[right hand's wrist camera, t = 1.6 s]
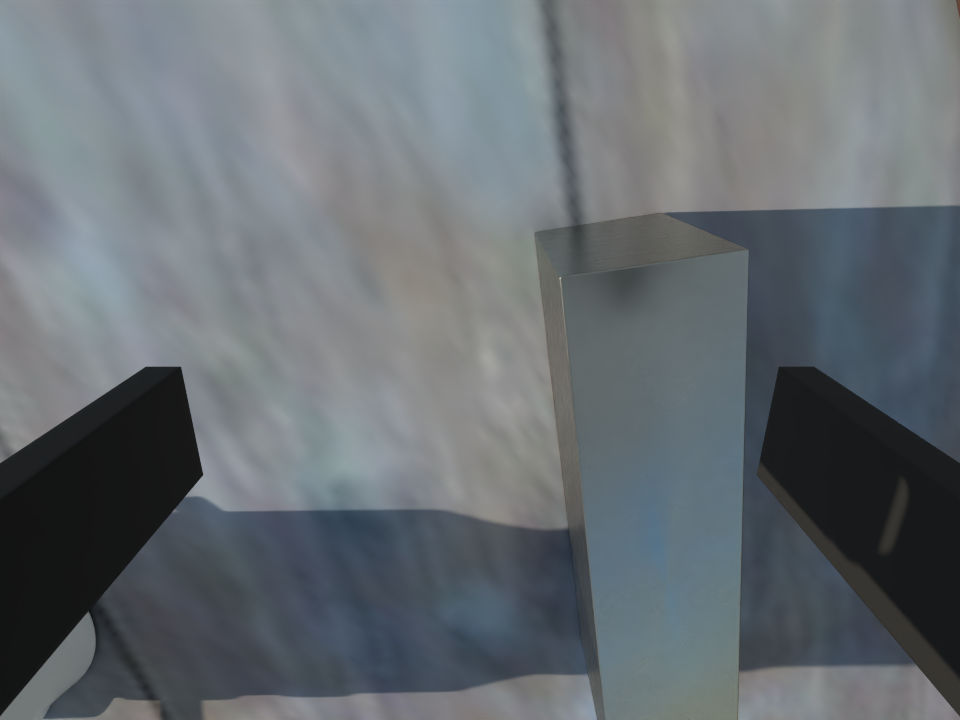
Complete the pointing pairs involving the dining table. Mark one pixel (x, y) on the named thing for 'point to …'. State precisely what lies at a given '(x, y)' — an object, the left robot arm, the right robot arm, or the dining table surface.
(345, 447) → the dining table surface
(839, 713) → the dining table surface
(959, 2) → the fork
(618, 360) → the bar
